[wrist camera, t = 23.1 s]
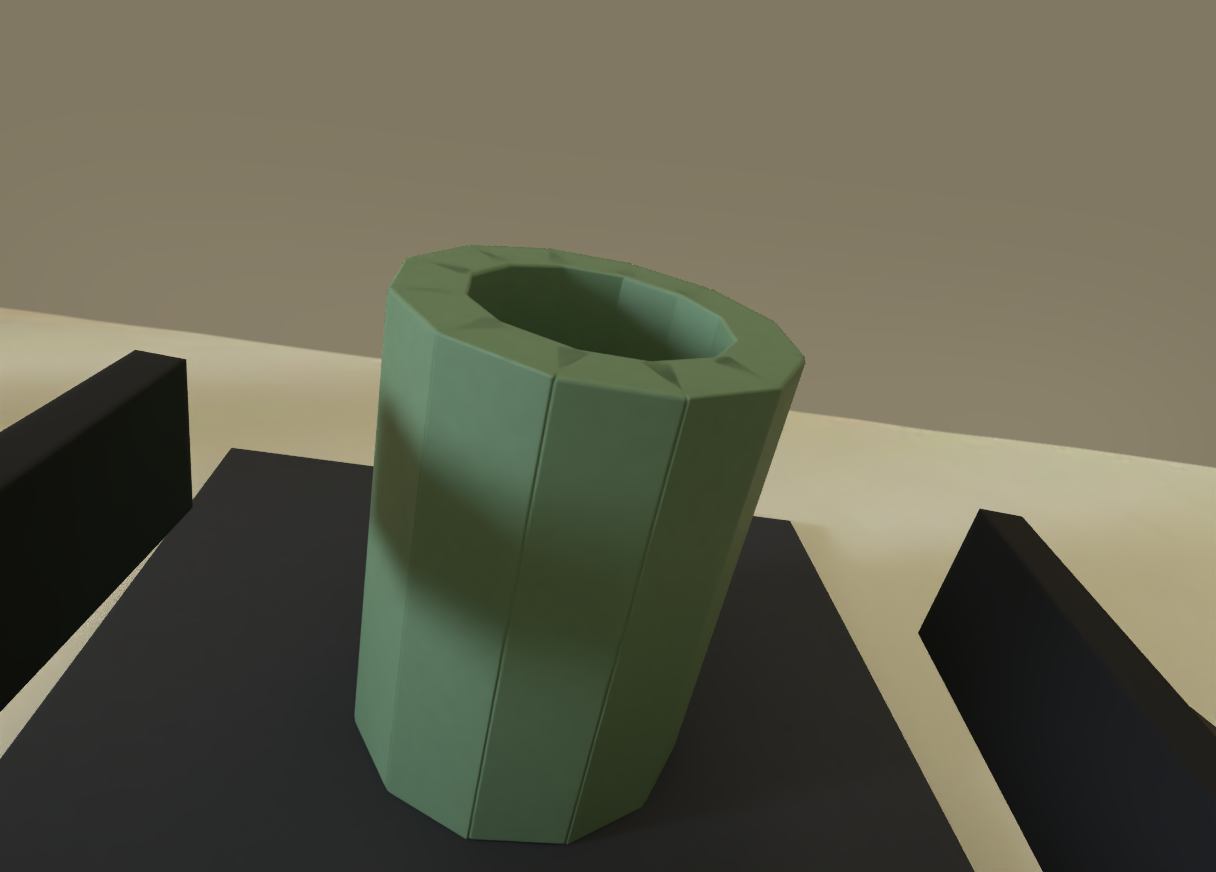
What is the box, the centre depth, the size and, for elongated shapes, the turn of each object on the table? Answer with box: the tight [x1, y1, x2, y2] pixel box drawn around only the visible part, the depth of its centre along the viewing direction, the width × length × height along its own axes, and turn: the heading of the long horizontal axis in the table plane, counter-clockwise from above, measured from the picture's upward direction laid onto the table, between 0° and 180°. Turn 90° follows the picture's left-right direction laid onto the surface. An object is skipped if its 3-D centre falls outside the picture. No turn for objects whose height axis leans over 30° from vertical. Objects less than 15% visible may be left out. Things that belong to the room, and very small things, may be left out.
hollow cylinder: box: [354, 245, 805, 844], centre depth 16 cm, size 7×7×10 cm
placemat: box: [0, 448, 974, 872], centre depth 18 cm, size 20×20×1 cm
